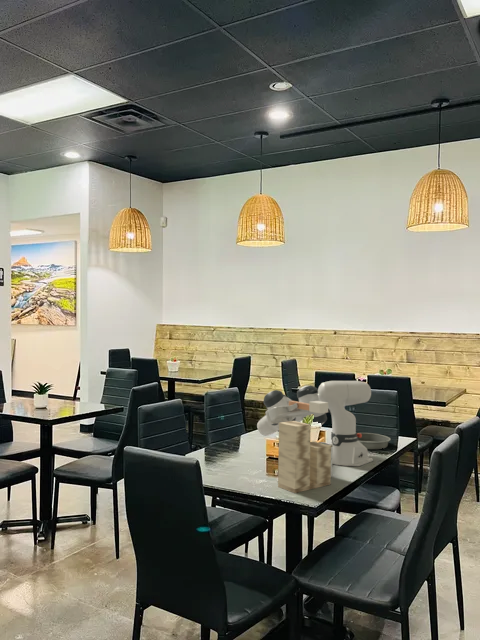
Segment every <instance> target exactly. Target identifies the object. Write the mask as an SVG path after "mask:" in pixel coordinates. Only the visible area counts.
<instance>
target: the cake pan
mask: <svg viewBox="0 0 480 640" xmlns="http://www.w3.org/2000/svg"><path fill="white" fill-rule="evenodd" d="M357 433H358V432H356V434H357ZM360 433H361V434H362V437H361V438H359V437H358V441H359V442H360V443H361V444H363V445H364V446H365V447H366V448H367V450H381V449H382V448H383V449H385V448H387V447H388V445H389V442H390V441H391V440H392V439H391V437H389V436H387V435H383V434H379V433H372V432H360Z"/></svg>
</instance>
